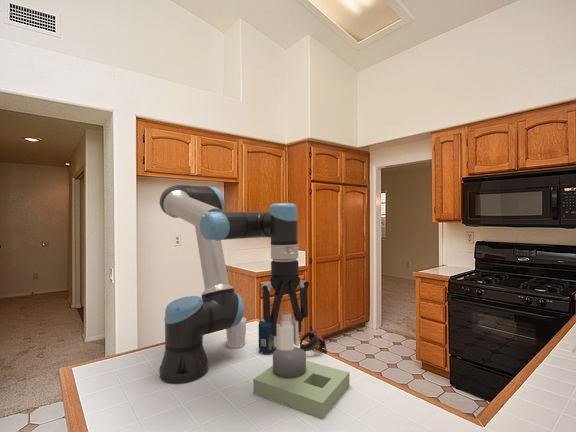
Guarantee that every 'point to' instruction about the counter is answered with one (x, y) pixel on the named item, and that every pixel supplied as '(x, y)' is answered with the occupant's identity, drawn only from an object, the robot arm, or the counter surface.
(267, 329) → the soda can
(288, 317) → the pepper shaker
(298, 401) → the green knob base
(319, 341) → the dark brown open frame
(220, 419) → the counter surface
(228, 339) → the white cup
